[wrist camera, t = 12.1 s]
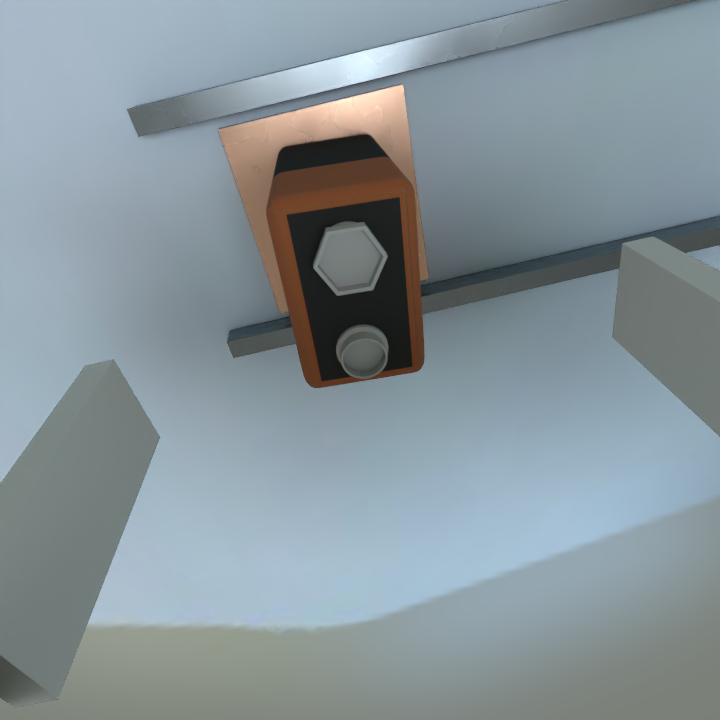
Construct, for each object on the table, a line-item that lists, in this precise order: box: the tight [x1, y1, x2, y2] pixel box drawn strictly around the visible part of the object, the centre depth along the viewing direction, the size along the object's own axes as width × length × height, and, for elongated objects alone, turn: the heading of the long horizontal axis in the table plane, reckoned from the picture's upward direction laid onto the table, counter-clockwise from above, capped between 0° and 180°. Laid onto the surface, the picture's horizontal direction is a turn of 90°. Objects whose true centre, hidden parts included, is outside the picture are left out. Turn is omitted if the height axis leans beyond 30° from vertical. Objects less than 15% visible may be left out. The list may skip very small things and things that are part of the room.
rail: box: [127, 0, 720, 358], centre depth 22 cm, size 12×28×1 cm, turn 102°
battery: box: [266, 134, 424, 388], centre depth 18 cm, size 4×7×10 cm, turn 7°
